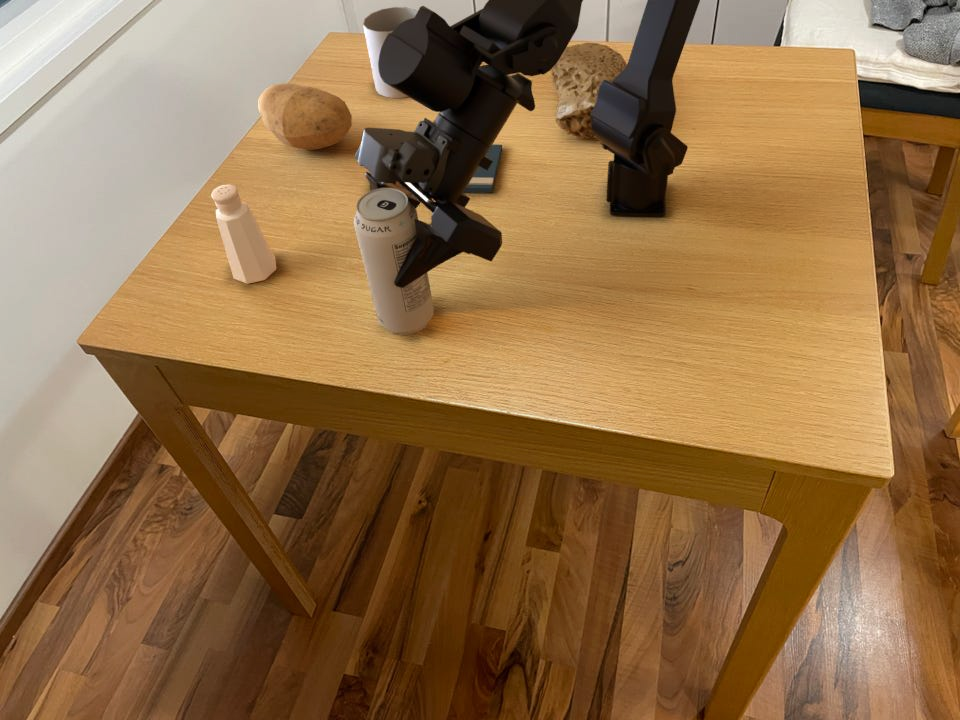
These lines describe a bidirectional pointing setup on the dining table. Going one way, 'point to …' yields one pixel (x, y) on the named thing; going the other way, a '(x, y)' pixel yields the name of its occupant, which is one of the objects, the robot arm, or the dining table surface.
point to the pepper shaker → (242, 237)
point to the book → (485, 173)
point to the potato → (304, 115)
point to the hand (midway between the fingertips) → (382, 269)
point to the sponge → (582, 84)
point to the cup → (375, 35)
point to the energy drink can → (391, 260)
